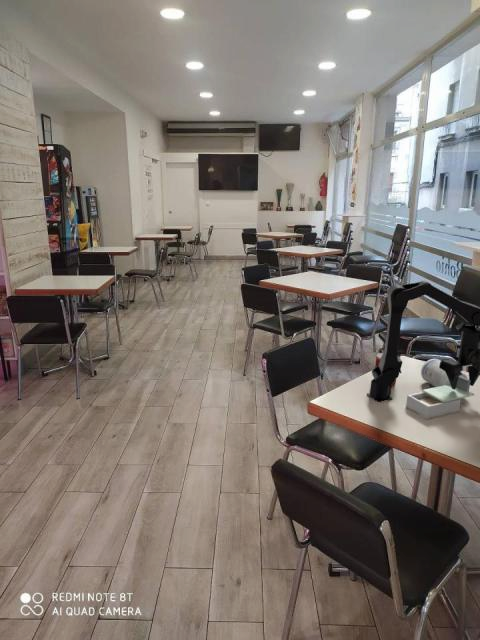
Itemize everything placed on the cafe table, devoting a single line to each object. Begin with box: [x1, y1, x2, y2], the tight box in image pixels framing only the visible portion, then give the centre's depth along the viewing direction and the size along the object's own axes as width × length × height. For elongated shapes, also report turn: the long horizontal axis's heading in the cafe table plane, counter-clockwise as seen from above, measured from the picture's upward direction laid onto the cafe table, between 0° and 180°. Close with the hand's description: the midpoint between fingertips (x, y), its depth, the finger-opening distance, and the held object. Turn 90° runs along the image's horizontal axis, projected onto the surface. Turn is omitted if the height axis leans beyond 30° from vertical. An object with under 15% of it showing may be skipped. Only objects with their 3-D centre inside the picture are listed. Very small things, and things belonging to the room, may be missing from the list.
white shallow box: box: [405, 391, 462, 420], centre depth 145 cm, size 14×9×4 cm, turn 113°
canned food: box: [374, 352, 397, 388], centre depth 165 cm, size 8×8×11 cm
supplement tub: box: [420, 358, 469, 388], centre depth 161 cm, size 10×10×15 cm
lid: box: [421, 376, 475, 402], centre depth 147 cm, size 14×9×5 cm, turn 113°
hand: (462, 387), depth 149 cm, fingers open, 8 cm apart
